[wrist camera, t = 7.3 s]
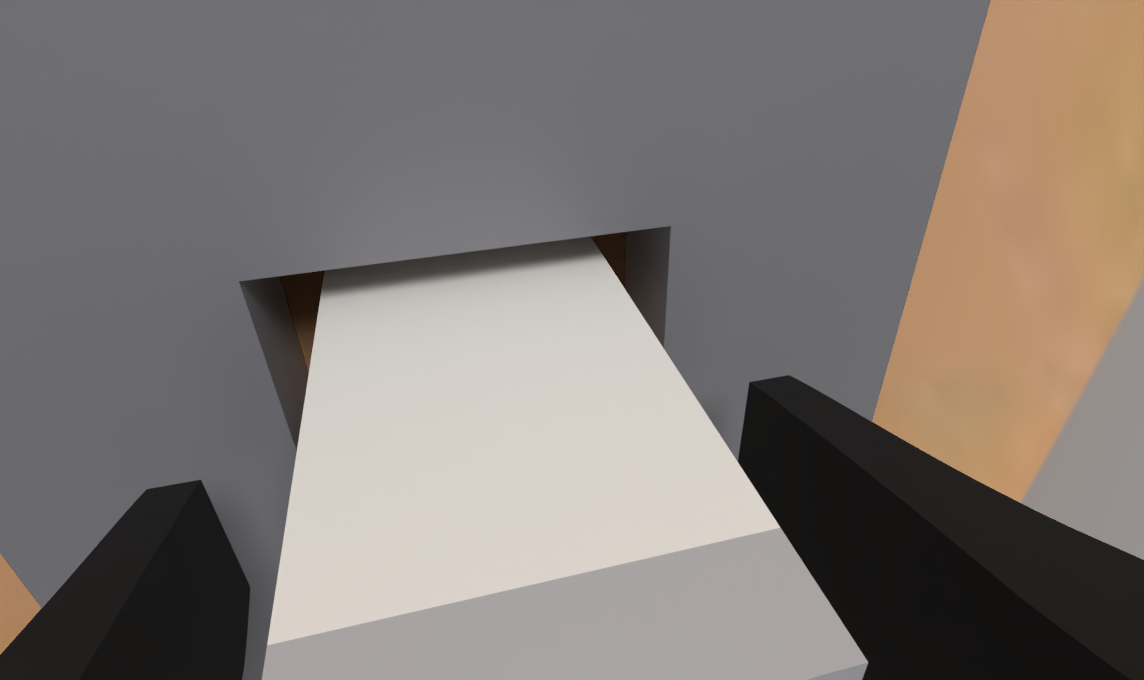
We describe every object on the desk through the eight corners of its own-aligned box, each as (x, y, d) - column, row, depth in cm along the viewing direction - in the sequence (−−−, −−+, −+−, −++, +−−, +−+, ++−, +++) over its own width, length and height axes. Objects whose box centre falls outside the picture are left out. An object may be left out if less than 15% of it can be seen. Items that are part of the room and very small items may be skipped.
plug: (378, 444, 13) (377, 1028, 6) (327, 250, 10) (237, 837, 4) (584, 406, 13) (785, 890, 7) (578, 217, 11) (868, 663, 4)
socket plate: (184, 668, 14) (150, 799, 12) (-297, -121, 7) (-605, -135, 5) (778, 534, 17) (835, 623, 15) (919, -147, 9) (1080, -163, 7)
